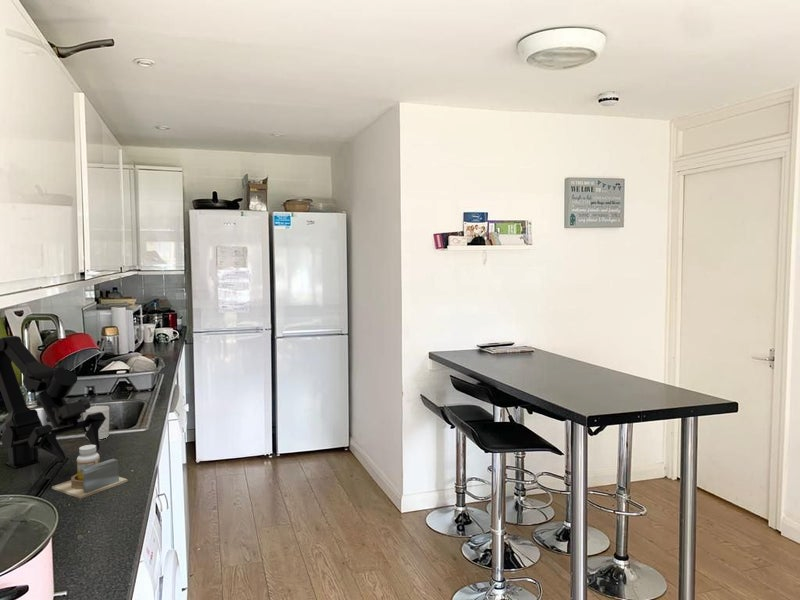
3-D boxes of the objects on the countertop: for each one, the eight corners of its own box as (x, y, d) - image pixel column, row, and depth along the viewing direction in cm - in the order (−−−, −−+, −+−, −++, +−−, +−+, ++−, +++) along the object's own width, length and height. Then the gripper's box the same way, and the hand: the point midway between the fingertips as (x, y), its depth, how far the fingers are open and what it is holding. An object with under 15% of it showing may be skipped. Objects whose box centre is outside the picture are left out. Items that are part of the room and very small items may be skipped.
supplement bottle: (89, 477, 161) (87, 442, 161) (105, 480, 160) (103, 444, 159) (73, 485, 156) (71, 449, 155) (89, 487, 155) (87, 451, 154)
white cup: (116, 435, 201) (114, 406, 200) (97, 443, 194) (95, 412, 193) (97, 433, 204) (96, 405, 203) (78, 440, 196) (76, 410, 195)
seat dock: (51, 488, 156) (50, 464, 155) (99, 472, 167) (97, 450, 166) (80, 498, 149) (78, 473, 149) (127, 481, 160) (126, 458, 160)
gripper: (31, 397, 152) (57, 447, 148) (100, 383, 168) (126, 427, 163) (17, 423, 157) (41, 471, 152) (85, 407, 173) (110, 450, 168)
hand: (81, 454), depth 159 cm, fingers open, 9 cm apart
